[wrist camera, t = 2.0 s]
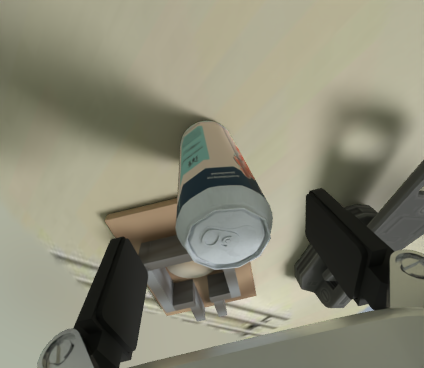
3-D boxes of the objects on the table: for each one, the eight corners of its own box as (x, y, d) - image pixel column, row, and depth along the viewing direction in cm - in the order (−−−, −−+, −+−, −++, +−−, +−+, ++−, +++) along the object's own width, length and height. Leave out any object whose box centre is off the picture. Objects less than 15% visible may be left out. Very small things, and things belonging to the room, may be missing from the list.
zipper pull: (542, 153, 16) (367, 323, 29) (450, 127, 22) (337, 279, 34) (451, 138, 15) (307, 325, 27) (377, 115, 20) (286, 279, 33)
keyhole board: (107, 214, 23) (93, 242, 19) (235, 184, 22) (244, 207, 19) (167, 309, 33) (165, 338, 30) (254, 289, 33) (262, 316, 30)
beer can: (222, 172, 21) (255, 279, 11) (175, 161, 20) (165, 270, 10) (238, 126, 19) (299, 209, 9) (187, 112, 18) (189, 188, 8)
